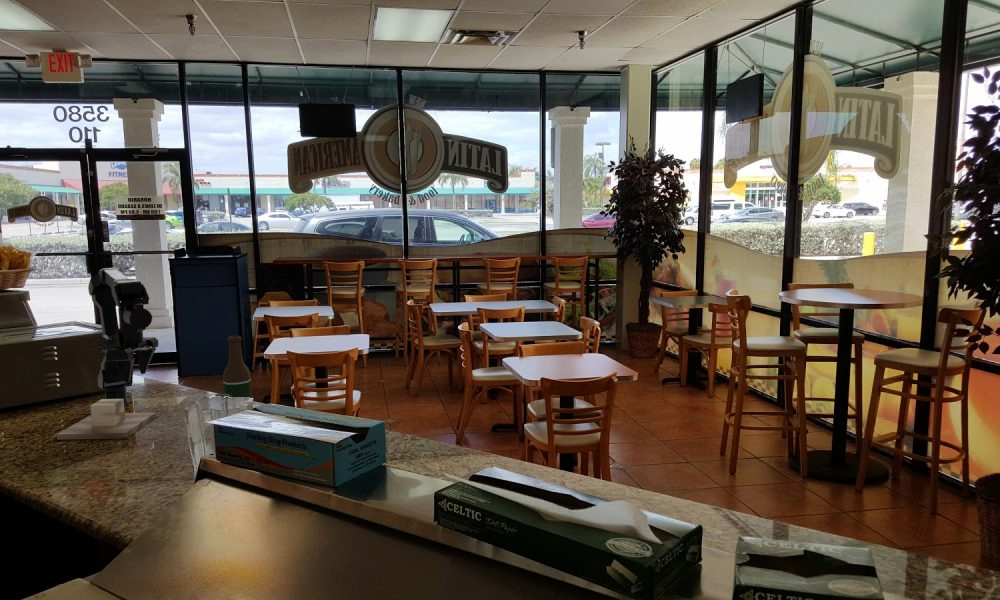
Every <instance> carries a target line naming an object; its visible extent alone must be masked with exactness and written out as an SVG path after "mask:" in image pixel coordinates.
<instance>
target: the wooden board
mask: <svg viewBox="0 0 1000 600" xmlns="http://www.w3.org/2000/svg"><path fill="white" fill-rule="evenodd" d="M155 419H157V413H156V412H125V420H123V421H122V422H120V423H119V424H117V425H115V426H92V418H91V414H90V415H88V416H86V417H85V418H83V419H81V420H79V421H77V422H76V423H74V424H72V425H71V426H69V427H67V428H65V429H63V430H62V431H60V432H58V433H57V434H56V438H57V439H56V440H57V441H58V440H60V441H61V440H65V441H66V440H101V439H102V440H103V439H104V440H105V439H106V440H107V439H110V440H111V439H128V438H129V437H130V436H132V435H133V434H135V433H136V432H138V431H139V430H141V429H142V428H143V427H144V426H146V425H148V424H149V423H150V422H153V420H155Z"/></svg>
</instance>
